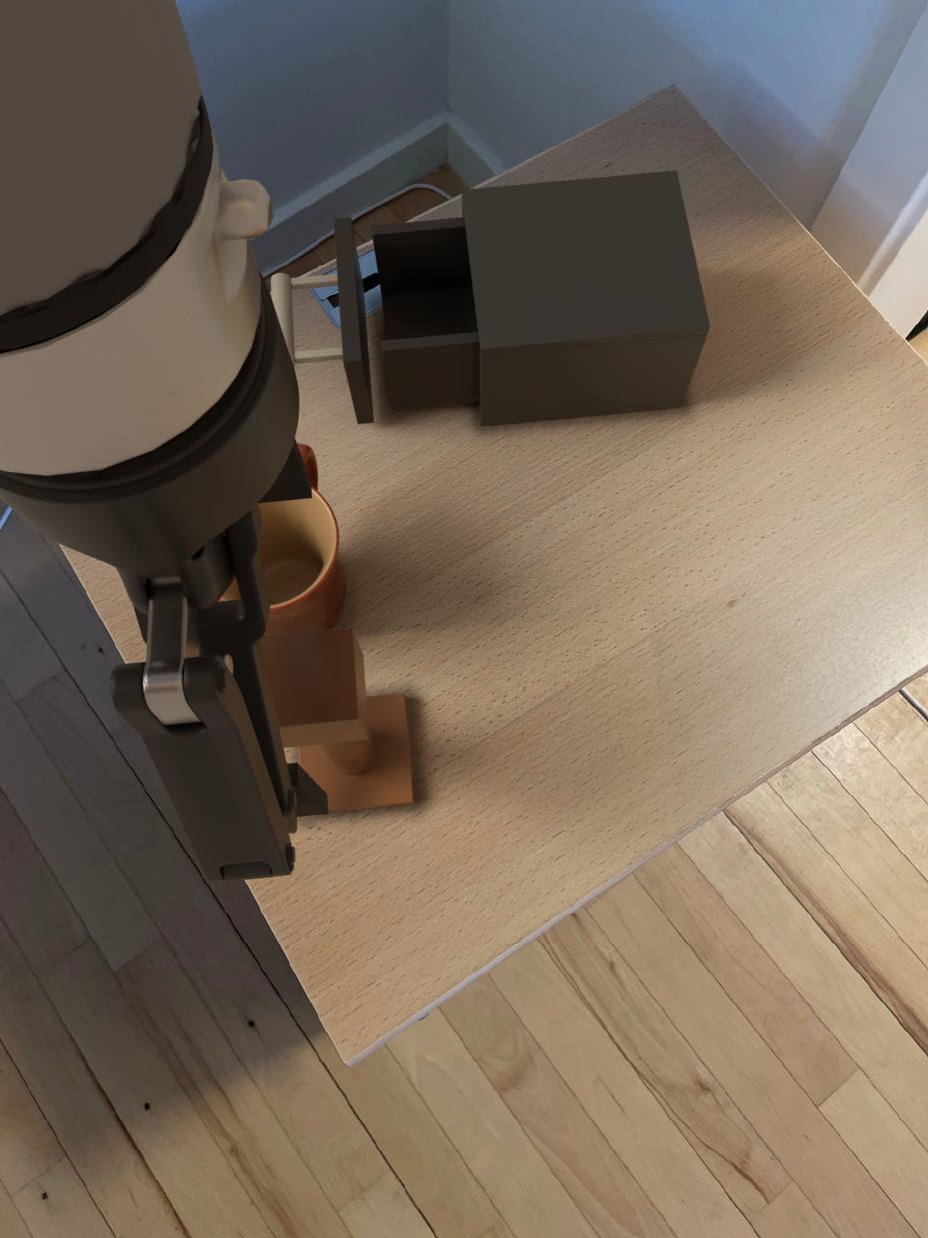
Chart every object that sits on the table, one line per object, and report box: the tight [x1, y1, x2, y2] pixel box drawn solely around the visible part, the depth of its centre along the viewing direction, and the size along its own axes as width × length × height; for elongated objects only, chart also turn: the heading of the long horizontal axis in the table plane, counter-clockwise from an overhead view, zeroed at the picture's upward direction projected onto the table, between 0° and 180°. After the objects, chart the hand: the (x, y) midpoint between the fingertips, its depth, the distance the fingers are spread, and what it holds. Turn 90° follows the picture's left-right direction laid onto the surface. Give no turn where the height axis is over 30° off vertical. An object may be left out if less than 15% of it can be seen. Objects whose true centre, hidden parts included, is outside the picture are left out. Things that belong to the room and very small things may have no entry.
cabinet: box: [461, 169, 711, 427], centre depth 69 cm, size 15×13×10 cm
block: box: [260, 626, 369, 749], centre depth 48 cm, size 4×4×4 cm
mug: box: [218, 442, 347, 636], centre depth 63 cm, size 12×9×10 cm
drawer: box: [270, 216, 480, 425], centre depth 68 cm, size 18×11×8 cm, turn 96°
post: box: [298, 692, 415, 813], centre depth 57 cm, size 7×7×14 cm
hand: (286, 642), depth 40 cm, fingers open, 13 cm apart
